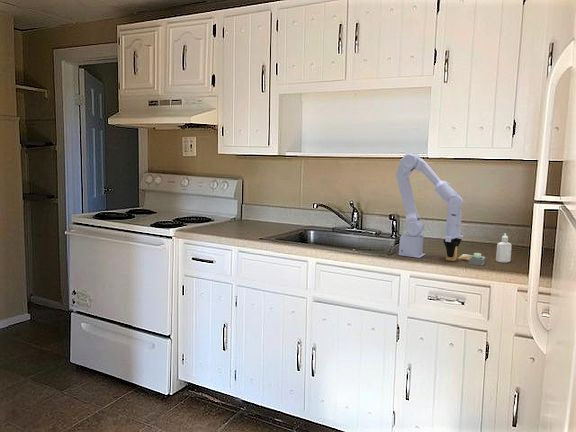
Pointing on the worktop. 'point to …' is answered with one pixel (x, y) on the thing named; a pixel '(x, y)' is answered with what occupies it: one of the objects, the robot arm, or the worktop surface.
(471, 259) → the button housing
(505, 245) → the eye dropper bottle
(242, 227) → the worktop surface
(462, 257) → the compartment tray
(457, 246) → the block
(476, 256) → the button
